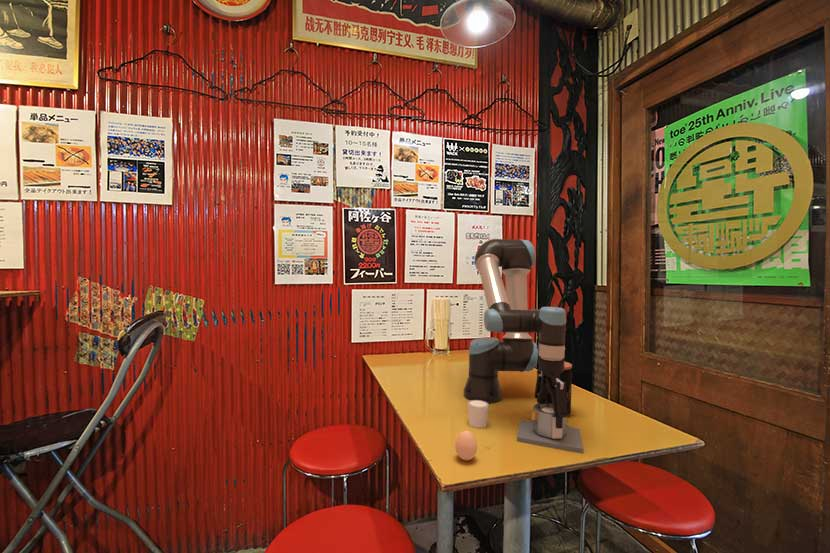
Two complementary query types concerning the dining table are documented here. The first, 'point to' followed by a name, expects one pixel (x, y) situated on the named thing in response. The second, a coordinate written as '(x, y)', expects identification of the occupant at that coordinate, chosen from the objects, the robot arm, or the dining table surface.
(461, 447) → the egg
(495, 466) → the dining table surface
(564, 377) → the coffee jar
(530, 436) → the grey plate with knob
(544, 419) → the mug
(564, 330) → the robot arm
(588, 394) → the dining table surface
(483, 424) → the tan cup
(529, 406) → the dining table surface
